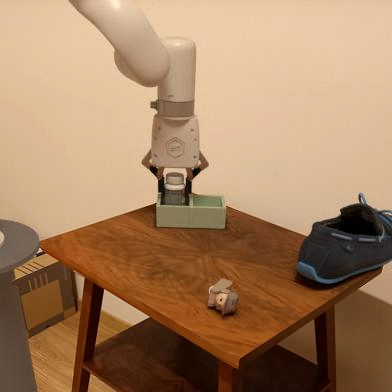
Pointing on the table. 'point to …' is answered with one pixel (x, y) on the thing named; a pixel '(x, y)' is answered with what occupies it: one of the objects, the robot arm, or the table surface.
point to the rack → (193, 212)
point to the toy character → (223, 296)
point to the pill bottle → (174, 189)
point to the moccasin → (347, 244)
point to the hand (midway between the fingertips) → (174, 195)
